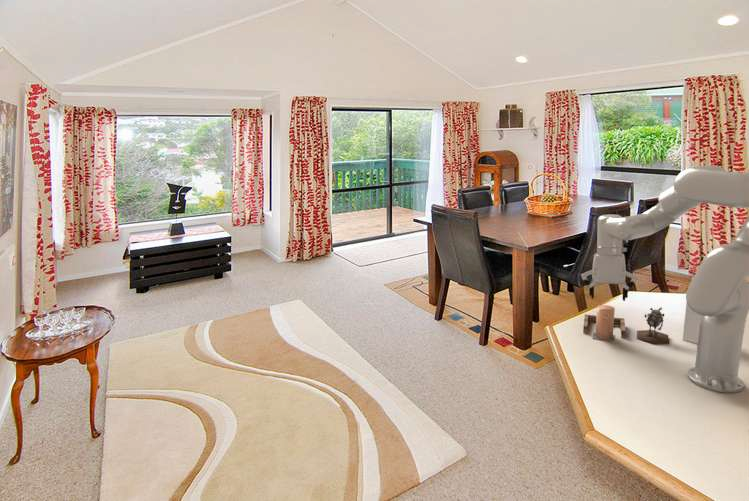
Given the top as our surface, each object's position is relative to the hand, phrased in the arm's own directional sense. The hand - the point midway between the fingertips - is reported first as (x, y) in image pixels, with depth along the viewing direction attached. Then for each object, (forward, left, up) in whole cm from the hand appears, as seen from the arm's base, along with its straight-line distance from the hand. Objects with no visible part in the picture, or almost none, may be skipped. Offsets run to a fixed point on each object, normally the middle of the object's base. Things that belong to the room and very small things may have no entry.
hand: (608, 298), depth 149 cm
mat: (0, +1, -15) cm, 15 cm away
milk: (+8, -27, -15) cm, 32 cm away
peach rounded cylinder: (-1, 0, -15) cm, 15 cm away
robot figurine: (+5, -14, -15) cm, 22 cm away
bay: (+7, +1, -15) cm, 17 cm away
